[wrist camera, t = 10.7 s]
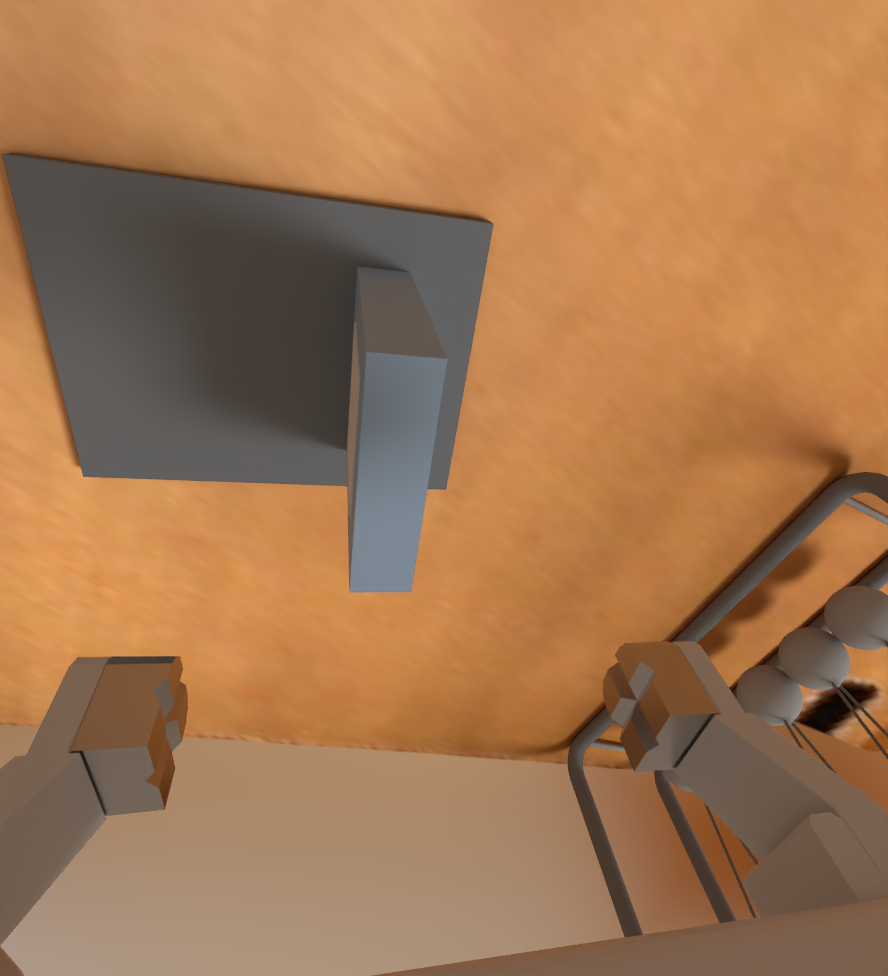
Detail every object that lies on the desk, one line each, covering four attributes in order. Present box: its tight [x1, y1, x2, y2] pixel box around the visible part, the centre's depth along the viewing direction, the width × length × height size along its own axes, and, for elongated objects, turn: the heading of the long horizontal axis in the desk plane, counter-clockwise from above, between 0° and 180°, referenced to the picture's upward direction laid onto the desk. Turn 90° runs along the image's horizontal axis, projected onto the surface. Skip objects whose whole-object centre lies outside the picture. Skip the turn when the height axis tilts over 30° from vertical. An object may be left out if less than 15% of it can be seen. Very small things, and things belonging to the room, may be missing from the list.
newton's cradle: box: [568, 472, 888, 937], centre depth 32 cm, size 30×10×18 cm, turn 152°
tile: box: [347, 266, 447, 592], centre depth 19 cm, size 2×8×9 cm, turn 172°
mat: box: [2, 153, 493, 490], centre depth 22 cm, size 12×16×1 cm
